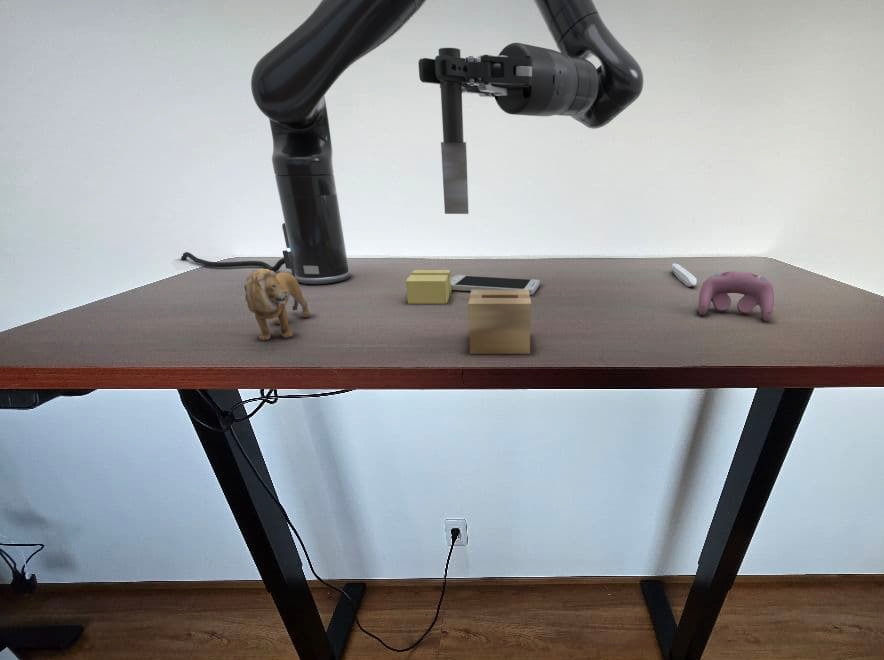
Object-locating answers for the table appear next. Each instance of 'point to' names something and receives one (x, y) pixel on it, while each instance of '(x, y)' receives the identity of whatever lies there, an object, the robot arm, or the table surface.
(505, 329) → the knife block
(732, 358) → the table surface
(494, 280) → the smartphone
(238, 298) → the table surface
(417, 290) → the butter
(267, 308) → the lion figurine
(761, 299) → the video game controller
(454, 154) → the knife
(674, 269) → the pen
